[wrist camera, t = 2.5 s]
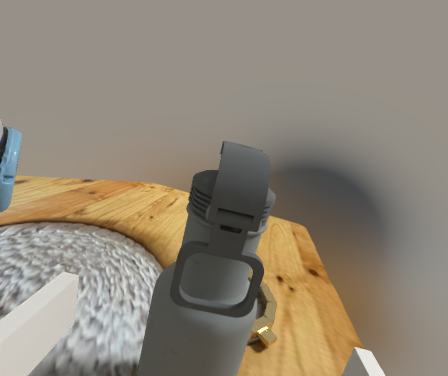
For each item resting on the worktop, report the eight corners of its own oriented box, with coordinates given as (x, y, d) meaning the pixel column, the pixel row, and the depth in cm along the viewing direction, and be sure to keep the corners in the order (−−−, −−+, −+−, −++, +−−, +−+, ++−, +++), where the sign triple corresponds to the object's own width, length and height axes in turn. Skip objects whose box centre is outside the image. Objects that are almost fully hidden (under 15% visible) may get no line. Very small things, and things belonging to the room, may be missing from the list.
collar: (150, 276, 45) (152, 266, 44) (223, 258, 57) (225, 250, 56) (224, 381, 30) (228, 367, 29) (302, 327, 42) (306, 316, 41)
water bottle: (221, 478, 21) (329, 174, 15) (110, 459, 21) (170, 135, 14) (222, 367, 31) (287, 155, 25) (147, 352, 31) (192, 131, 24)
